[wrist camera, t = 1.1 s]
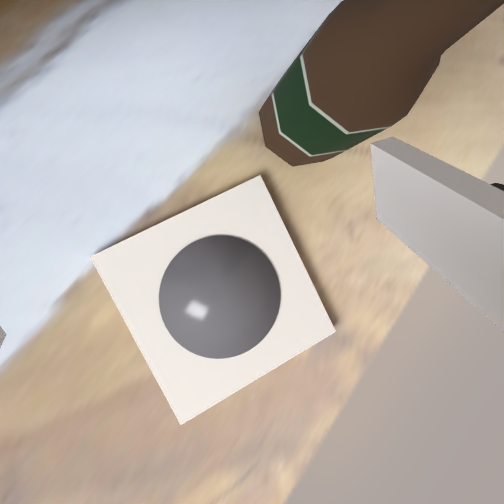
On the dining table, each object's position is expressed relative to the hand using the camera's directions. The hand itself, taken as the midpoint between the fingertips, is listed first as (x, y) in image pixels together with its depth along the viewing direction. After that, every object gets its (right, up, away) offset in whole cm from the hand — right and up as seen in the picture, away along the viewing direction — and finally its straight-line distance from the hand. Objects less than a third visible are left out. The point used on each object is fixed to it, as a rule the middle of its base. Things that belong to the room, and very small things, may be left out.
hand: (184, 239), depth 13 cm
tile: (-1, -4, +22) cm, 22 cm away
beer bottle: (+6, +11, +24) cm, 27 cm away
